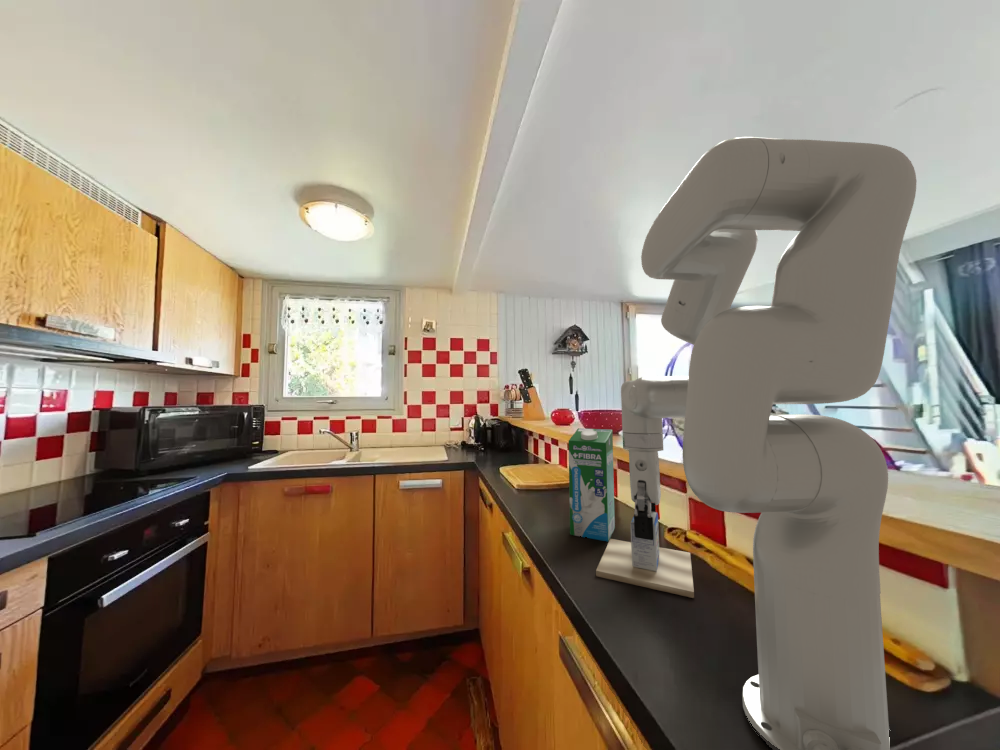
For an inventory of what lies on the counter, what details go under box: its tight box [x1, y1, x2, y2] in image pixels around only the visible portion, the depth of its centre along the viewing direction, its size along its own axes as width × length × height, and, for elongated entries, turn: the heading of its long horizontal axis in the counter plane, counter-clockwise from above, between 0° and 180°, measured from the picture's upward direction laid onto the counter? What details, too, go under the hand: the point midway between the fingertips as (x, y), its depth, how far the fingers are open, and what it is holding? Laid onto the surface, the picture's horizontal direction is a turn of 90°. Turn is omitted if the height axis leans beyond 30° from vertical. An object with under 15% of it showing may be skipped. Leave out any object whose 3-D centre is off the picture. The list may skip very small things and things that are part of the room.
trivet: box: [595, 538, 695, 599], centre depth 68 cm, size 16×16×1 cm
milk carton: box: [568, 428, 616, 543], centre depth 86 cm, size 9×9×25 cm
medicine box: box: [630, 511, 660, 572], centre depth 69 cm, size 8×4×9 cm, turn 152°
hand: (646, 529), depth 68 cm, fingers open, 9 cm apart
